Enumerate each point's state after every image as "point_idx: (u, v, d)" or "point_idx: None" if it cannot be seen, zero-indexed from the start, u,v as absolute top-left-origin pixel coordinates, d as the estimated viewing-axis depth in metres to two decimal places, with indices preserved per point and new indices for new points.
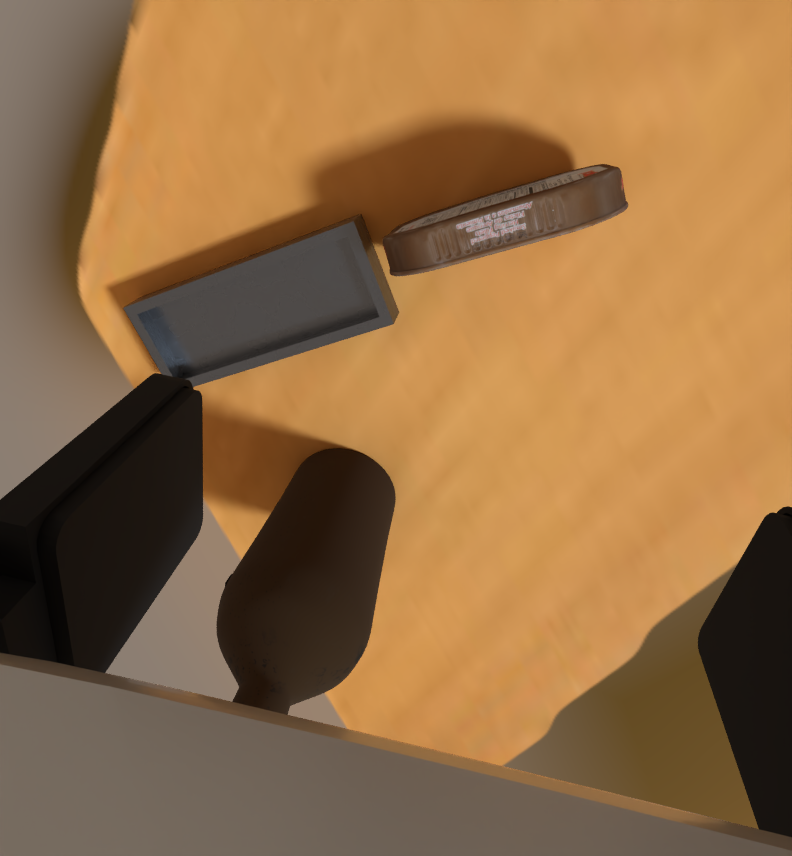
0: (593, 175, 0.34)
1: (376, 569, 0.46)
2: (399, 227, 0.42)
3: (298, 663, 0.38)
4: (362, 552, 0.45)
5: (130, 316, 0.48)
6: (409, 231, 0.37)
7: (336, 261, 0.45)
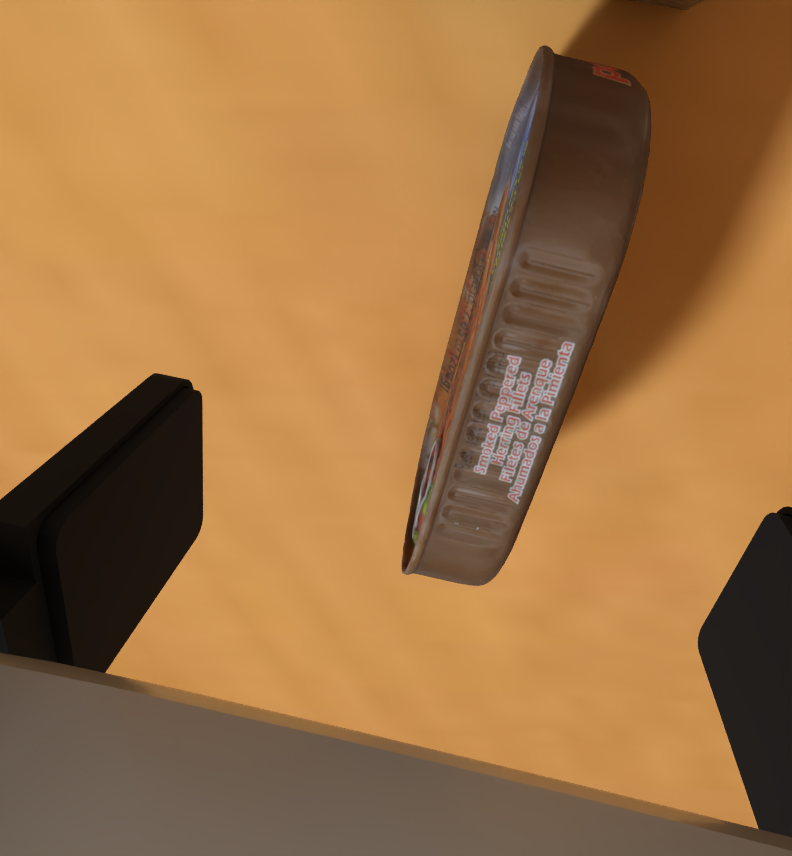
0: None
1: None
2: None
3: None
4: None
5: None
6: (635, 212, 0.13)
7: None
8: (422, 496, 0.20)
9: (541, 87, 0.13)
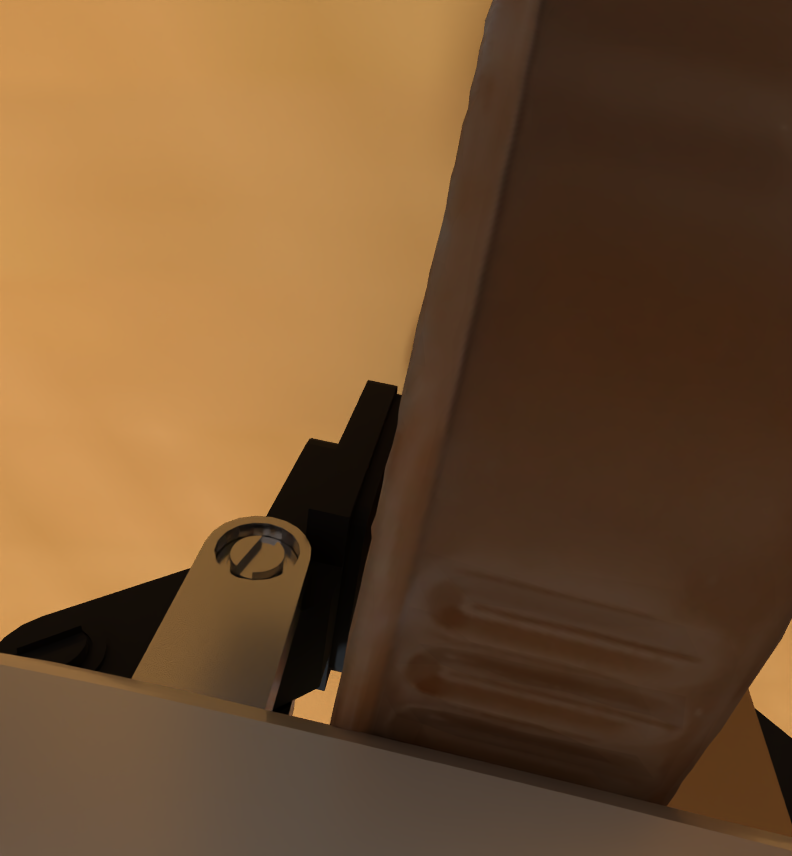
0: None
1: None
2: None
3: None
4: None
5: None
6: None
7: None
8: None
9: None
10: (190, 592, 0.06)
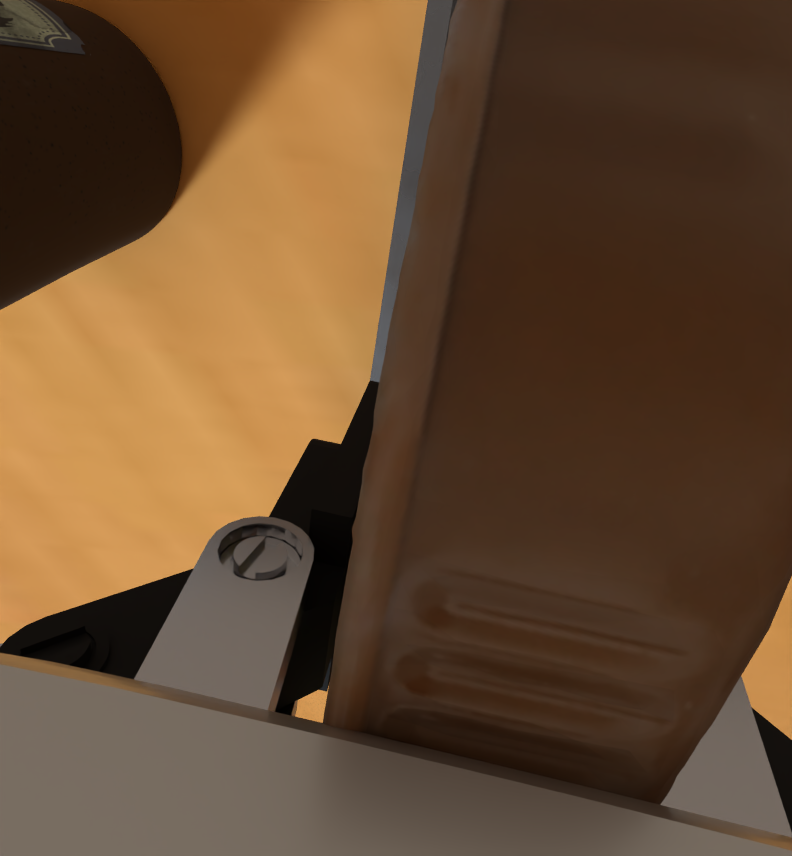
0: None
1: None
2: None
3: None
4: None
5: None
6: None
7: None
8: None
9: None
10: (194, 592, 0.06)
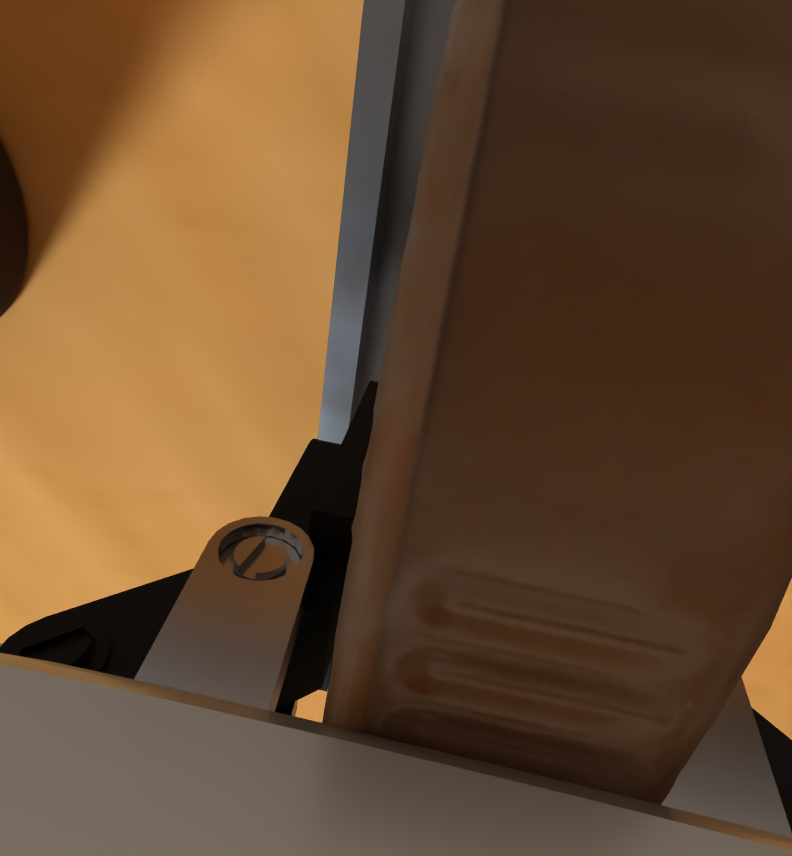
0: None
1: None
2: None
3: None
4: None
5: None
6: None
7: None
8: None
9: None
10: (193, 592, 0.06)
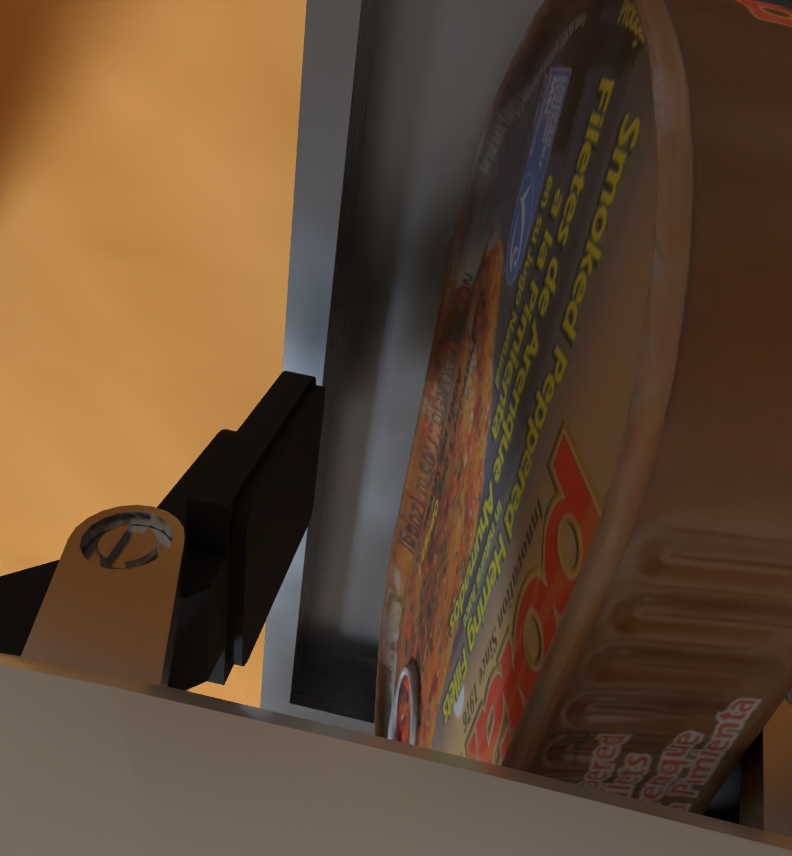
0: None
1: None
2: None
3: None
4: None
5: None
6: None
7: None
8: None
9: (660, 62, 0.04)
10: (60, 591, 0.06)
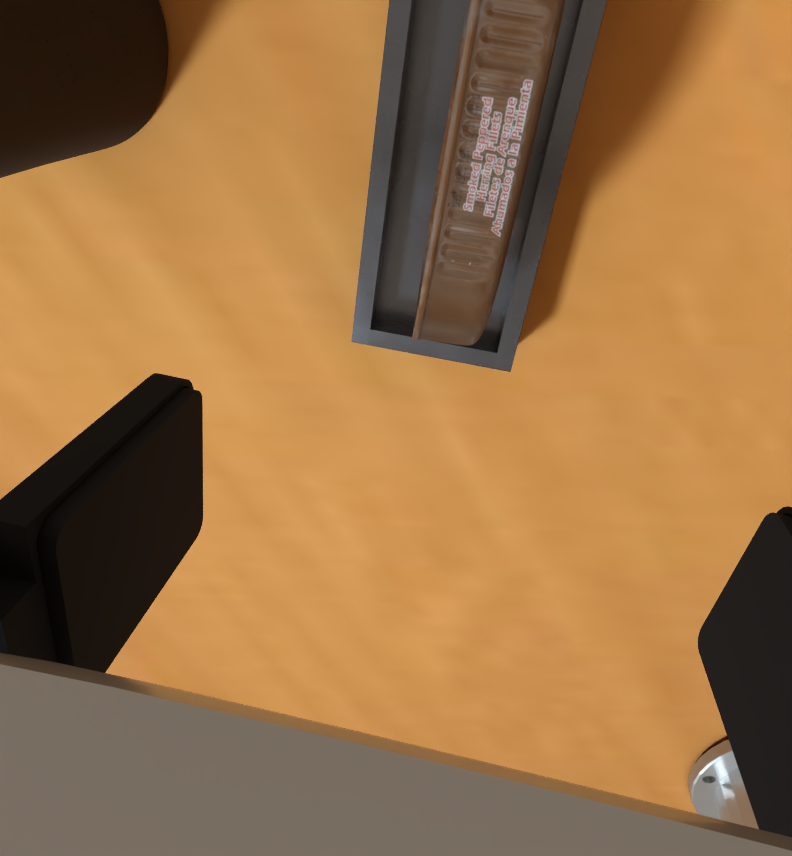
0: (484, 327, 0.22)
1: None
2: None
3: None
4: None
5: None
6: None
7: None
8: None
9: None
10: None
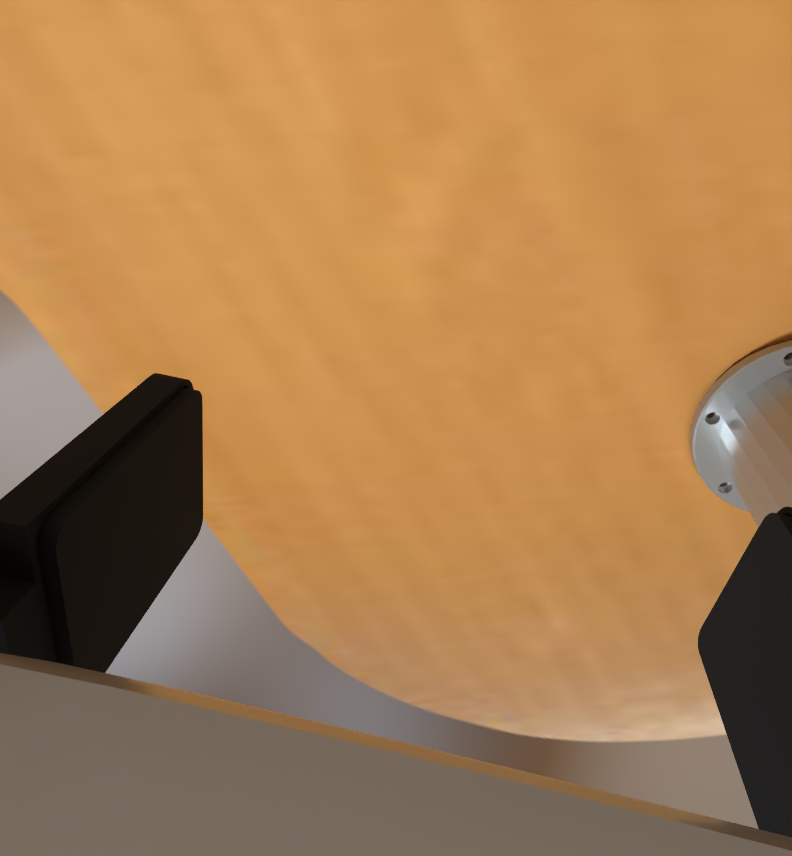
0: None
1: None
2: None
3: None
4: None
5: None
6: None
7: None
8: None
9: None
10: None
